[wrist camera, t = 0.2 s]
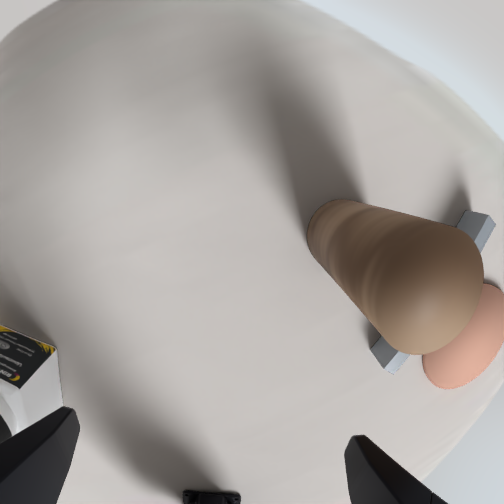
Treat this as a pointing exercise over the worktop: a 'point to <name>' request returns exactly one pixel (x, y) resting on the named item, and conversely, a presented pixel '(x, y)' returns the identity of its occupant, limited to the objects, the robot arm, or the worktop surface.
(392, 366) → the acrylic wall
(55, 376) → the medicine bottle
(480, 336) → the resting pad
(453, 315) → the walnut cylinder
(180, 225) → the worktop surface
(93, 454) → the worktop surface
